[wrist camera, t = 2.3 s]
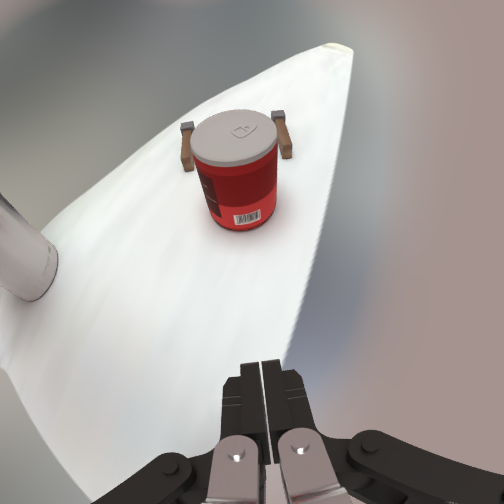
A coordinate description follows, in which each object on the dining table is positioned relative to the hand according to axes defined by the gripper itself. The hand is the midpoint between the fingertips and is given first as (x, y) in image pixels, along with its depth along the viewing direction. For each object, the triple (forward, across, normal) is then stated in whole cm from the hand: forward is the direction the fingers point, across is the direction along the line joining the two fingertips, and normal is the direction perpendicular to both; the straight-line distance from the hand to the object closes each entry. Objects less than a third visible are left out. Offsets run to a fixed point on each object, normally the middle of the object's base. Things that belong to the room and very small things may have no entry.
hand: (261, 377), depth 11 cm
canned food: (+25, 0, -3) cm, 25 cm away
